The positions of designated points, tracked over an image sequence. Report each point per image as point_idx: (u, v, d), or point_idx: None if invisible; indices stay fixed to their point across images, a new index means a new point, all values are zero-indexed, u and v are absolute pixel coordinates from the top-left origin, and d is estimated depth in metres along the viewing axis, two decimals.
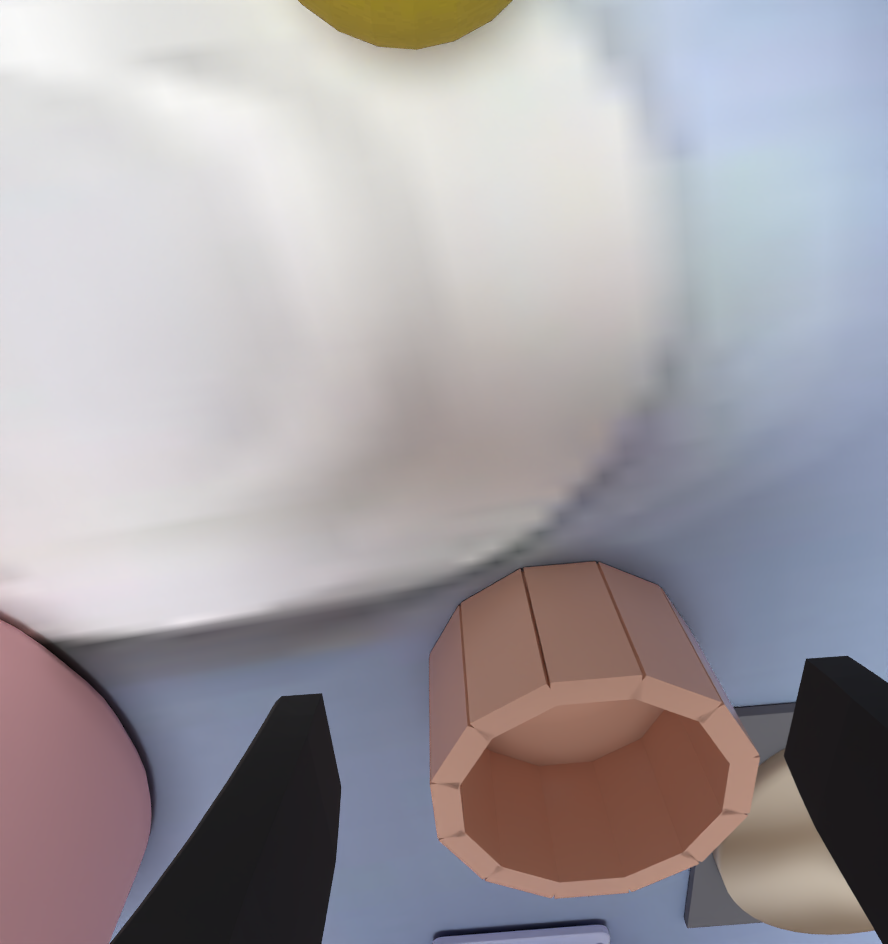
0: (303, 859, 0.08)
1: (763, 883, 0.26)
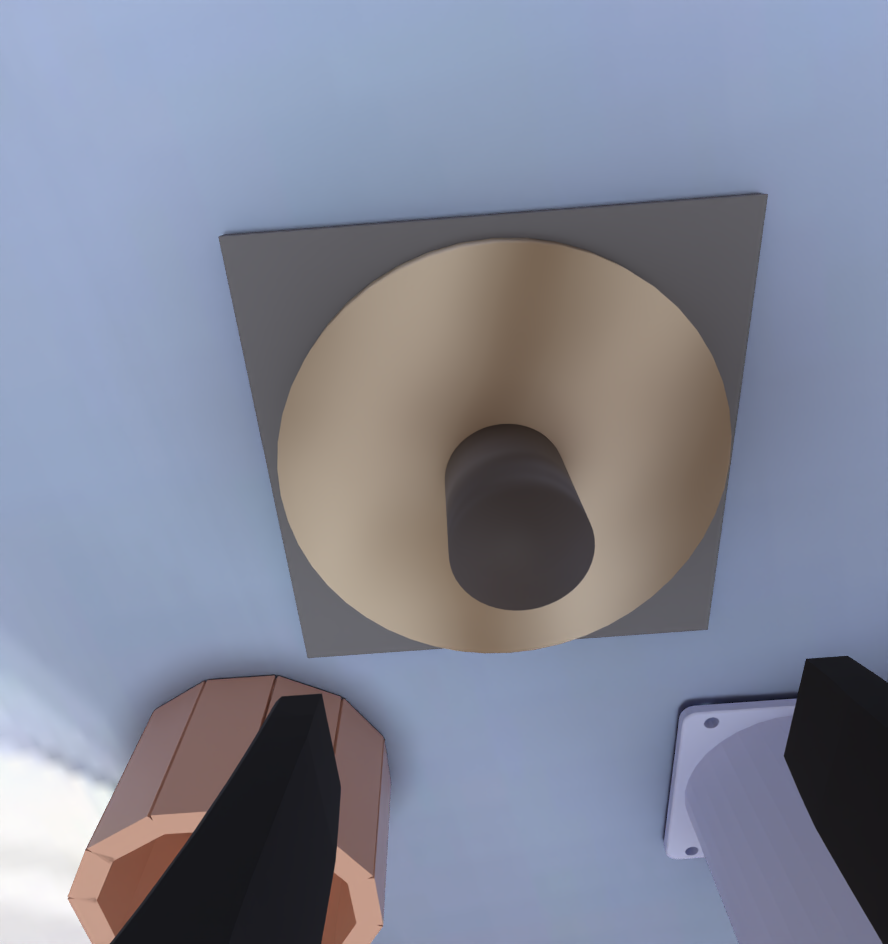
0: (303, 859, 0.08)
1: (572, 599, 0.19)
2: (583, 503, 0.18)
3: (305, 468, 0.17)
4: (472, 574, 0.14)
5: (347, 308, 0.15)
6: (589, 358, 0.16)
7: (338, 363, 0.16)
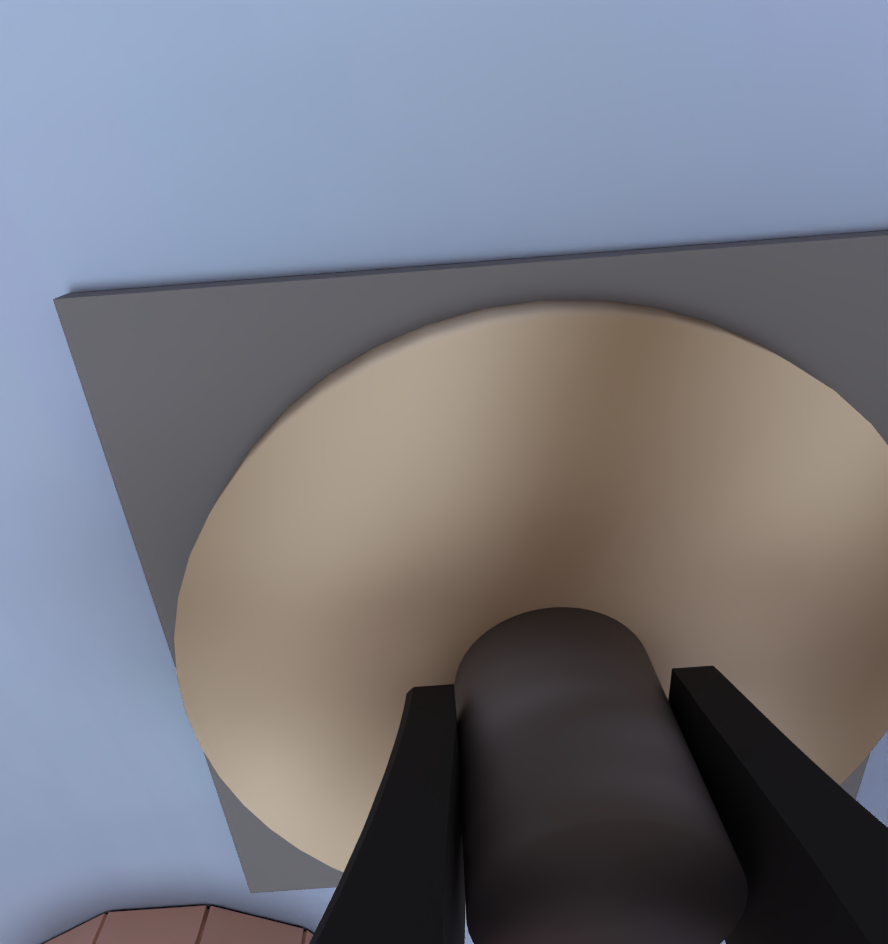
0: (457, 848, 0.08)
1: None
2: None
3: (223, 674, 0.10)
4: None
5: (281, 430, 0.08)
6: (706, 506, 0.09)
7: (269, 520, 0.09)
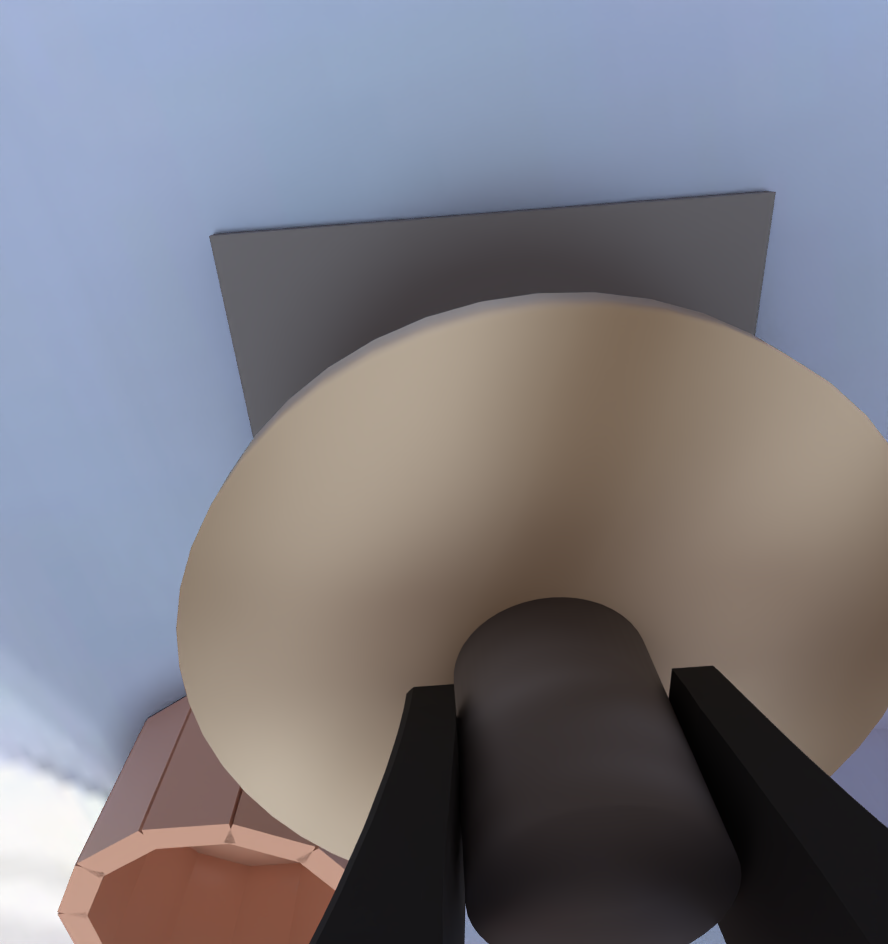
0: (457, 849, 0.08)
1: None
2: None
3: (225, 665, 0.10)
4: (508, 927, 0.08)
5: (281, 423, 0.09)
6: (702, 497, 0.09)
7: (270, 511, 0.09)
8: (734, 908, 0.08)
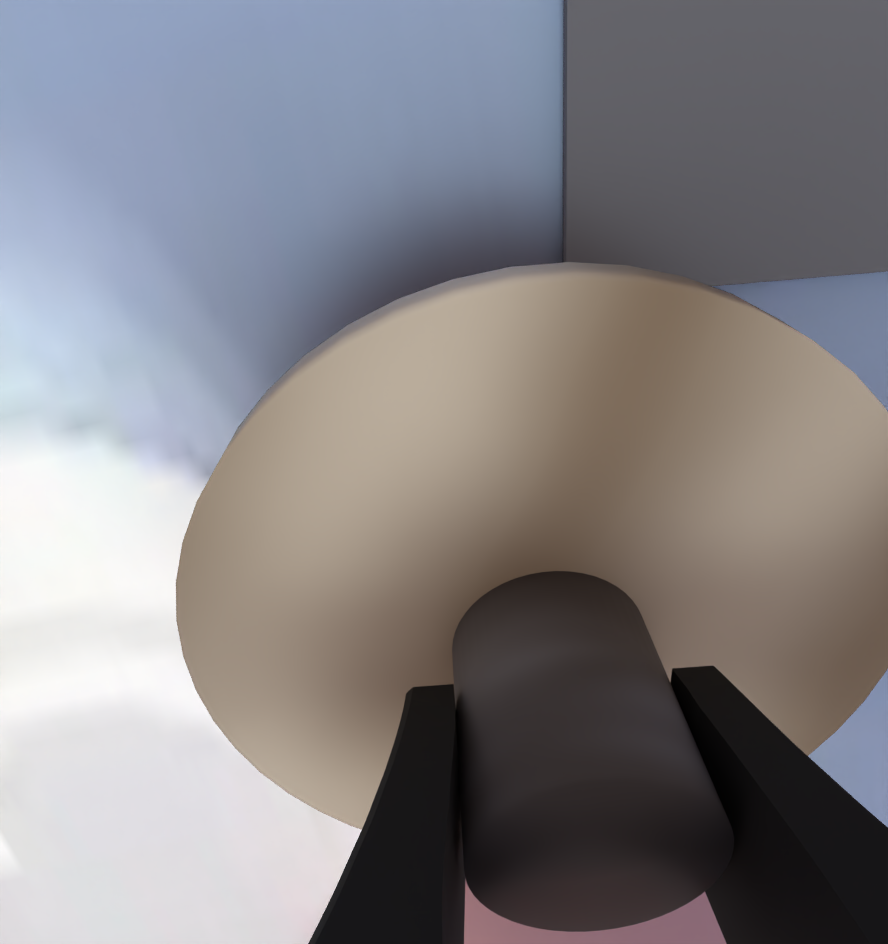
0: (457, 849, 0.08)
1: None
2: None
3: (223, 621, 0.10)
4: (503, 889, 0.08)
5: (299, 379, 0.08)
6: (716, 480, 0.09)
7: (281, 469, 0.09)
8: (735, 908, 0.08)
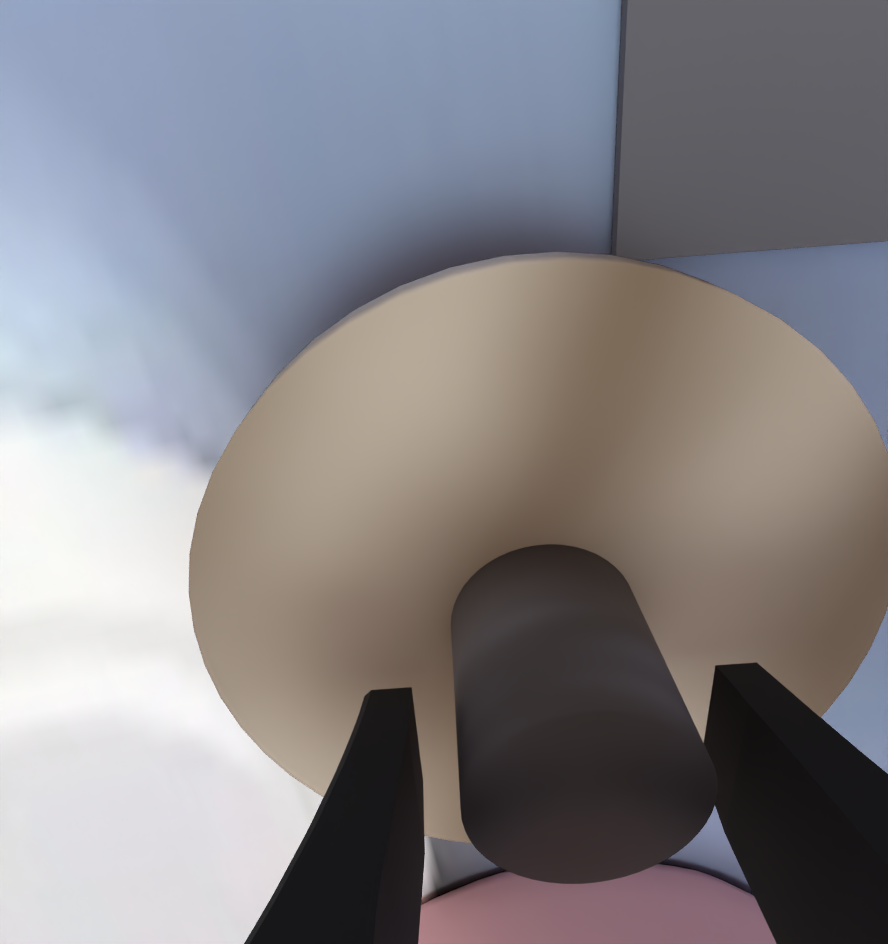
0: (408, 852, 0.08)
1: None
2: None
3: (233, 593, 0.11)
4: (498, 833, 0.08)
5: (309, 354, 0.09)
6: (697, 454, 0.10)
7: (291, 441, 0.10)
8: (785, 905, 0.08)
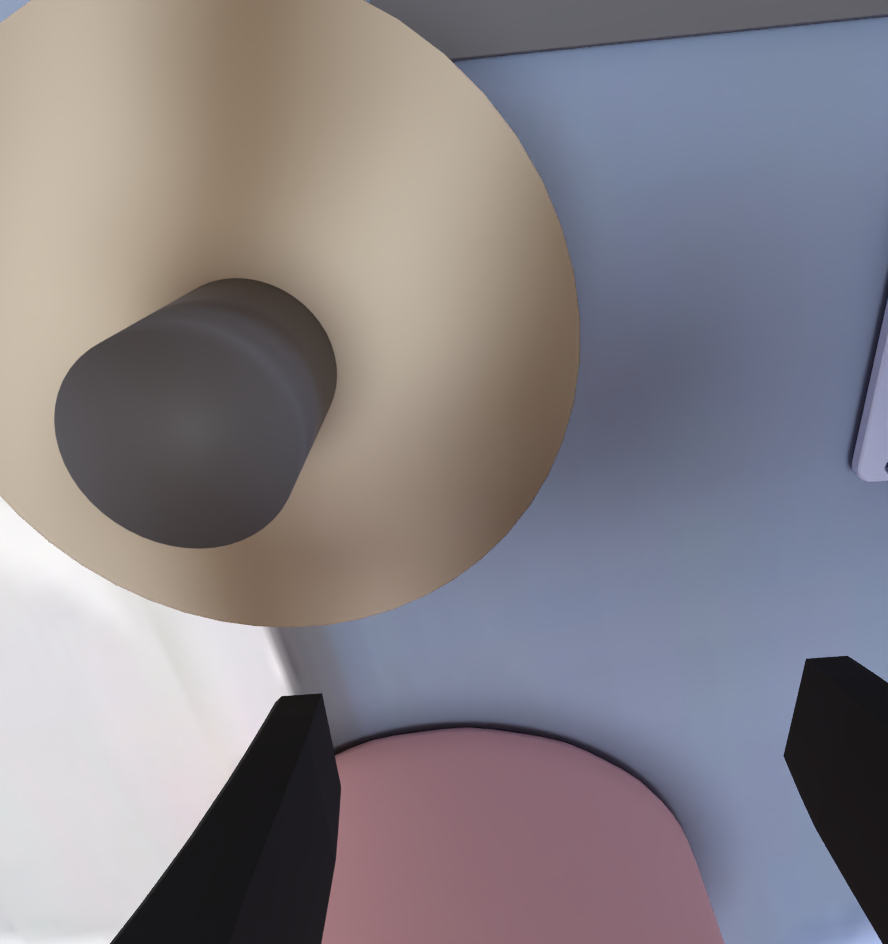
0: (303, 859, 0.08)
1: (370, 556, 0.14)
2: (370, 413, 0.12)
3: None
4: (104, 482, 0.09)
5: None
6: (352, 173, 0.10)
7: None
8: None
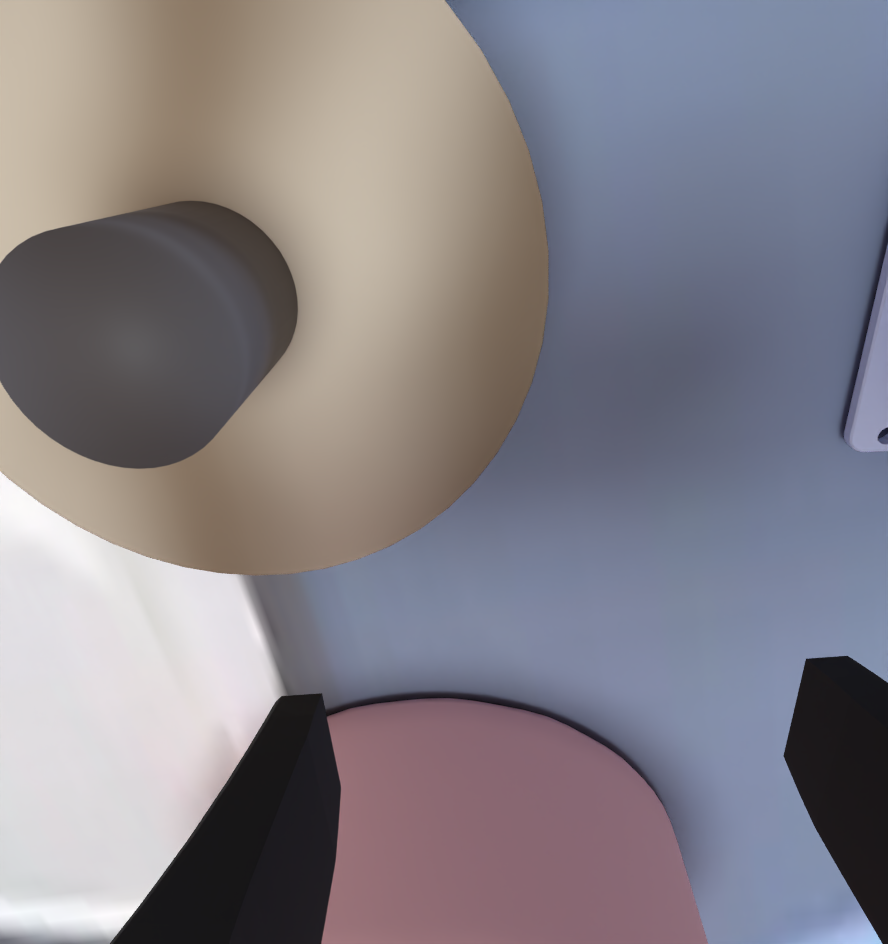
0: (303, 859, 0.08)
1: (334, 502, 0.13)
2: (332, 349, 0.12)
3: None
4: (37, 394, 0.09)
5: None
6: (311, 89, 0.10)
7: None
8: None
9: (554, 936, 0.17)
